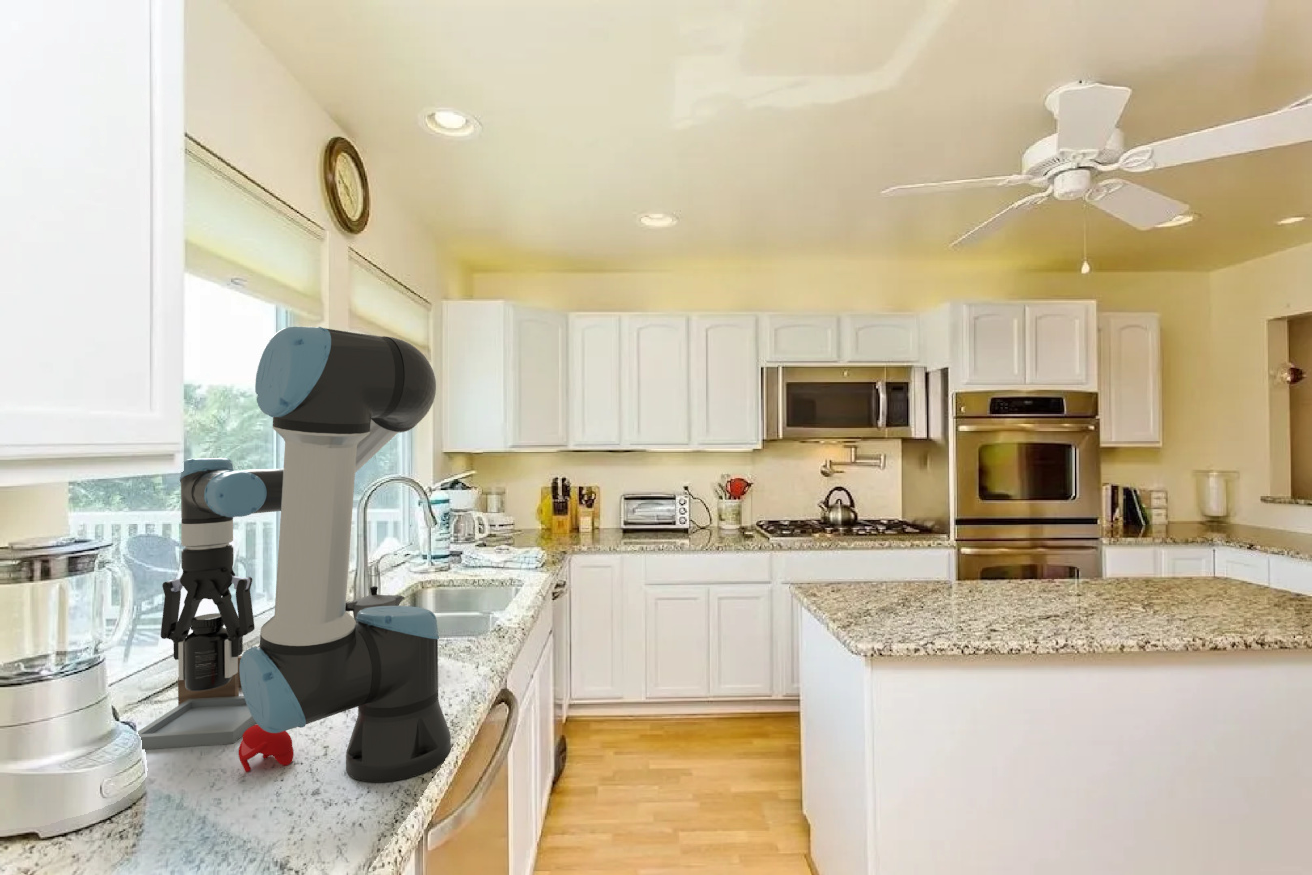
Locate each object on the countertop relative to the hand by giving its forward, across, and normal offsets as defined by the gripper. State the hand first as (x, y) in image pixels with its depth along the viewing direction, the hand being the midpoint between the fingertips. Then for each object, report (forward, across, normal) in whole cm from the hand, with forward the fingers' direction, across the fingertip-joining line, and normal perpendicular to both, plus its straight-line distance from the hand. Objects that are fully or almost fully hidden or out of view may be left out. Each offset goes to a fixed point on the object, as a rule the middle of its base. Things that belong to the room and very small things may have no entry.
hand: (208, 675), depth 112 cm
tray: (+9, 0, 0) cm, 9 cm away
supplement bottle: (+2, 0, 0) cm, 2 cm away
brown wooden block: (+9, +5, -14) cm, 17 cm away
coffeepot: (+9, -19, -25) cm, 33 cm away
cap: (+9, -17, +16) cm, 25 cm away
